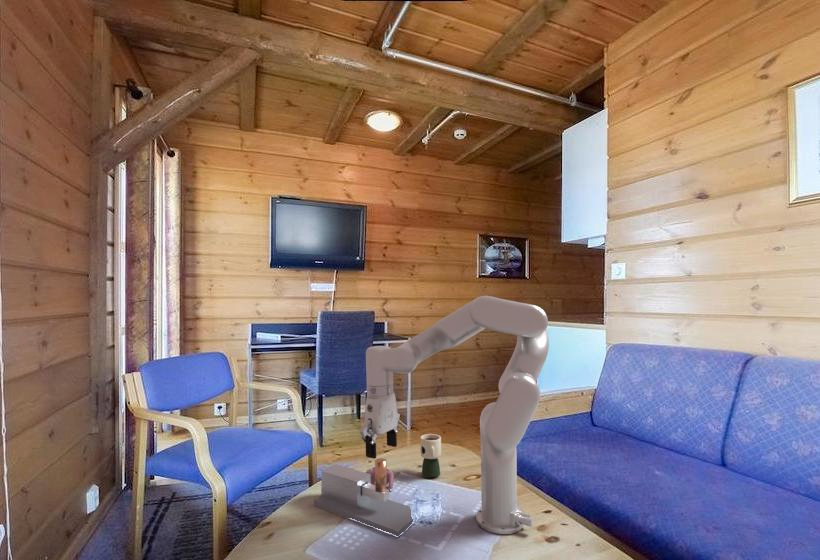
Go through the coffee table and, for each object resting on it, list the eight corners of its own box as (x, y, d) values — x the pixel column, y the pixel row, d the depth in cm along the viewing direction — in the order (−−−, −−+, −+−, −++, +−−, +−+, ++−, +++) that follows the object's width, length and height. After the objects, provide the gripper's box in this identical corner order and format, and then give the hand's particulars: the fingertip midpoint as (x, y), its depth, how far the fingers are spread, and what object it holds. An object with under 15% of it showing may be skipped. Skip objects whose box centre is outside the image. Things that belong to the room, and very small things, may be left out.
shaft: (389, 497, 113) (389, 460, 114) (383, 502, 111) (383, 464, 111) (335, 480, 125) (335, 446, 125) (328, 484, 122) (328, 449, 122)
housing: (370, 499, 119) (370, 474, 119) (357, 508, 114) (357, 482, 114) (335, 488, 126) (335, 463, 127) (321, 495, 121) (321, 470, 122)
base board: (422, 516, 113) (422, 510, 113) (398, 538, 103) (398, 531, 103) (341, 489, 129) (341, 484, 129) (313, 505, 119) (313, 500, 119)
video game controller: (394, 491, 131) (395, 467, 134) (392, 491, 127) (393, 466, 130) (363, 490, 131) (365, 467, 135) (361, 490, 127) (363, 465, 131)
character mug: (419, 469, 144) (418, 432, 144) (438, 468, 144) (438, 431, 145) (422, 483, 133) (422, 443, 134) (443, 482, 134) (443, 442, 134)
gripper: (371, 398, 106) (373, 465, 105) (407, 385, 120) (409, 444, 119) (349, 395, 110) (351, 459, 109) (387, 383, 124) (389, 440, 123)
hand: (381, 451), depth 114 cm, fingers open, 9 cm apart
